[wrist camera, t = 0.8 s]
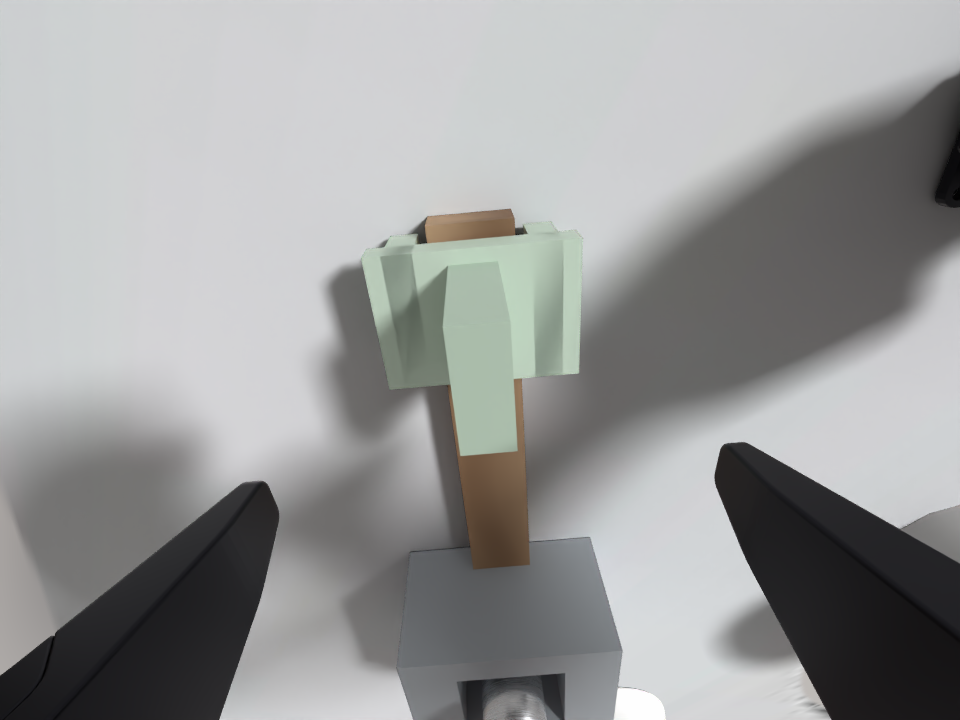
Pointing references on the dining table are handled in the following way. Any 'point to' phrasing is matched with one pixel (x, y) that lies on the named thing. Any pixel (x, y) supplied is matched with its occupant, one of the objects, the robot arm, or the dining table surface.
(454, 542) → the dining table surface
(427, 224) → the rail
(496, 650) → the housing
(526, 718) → the plunger
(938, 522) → the cup
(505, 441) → the carriage
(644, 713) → the mug
